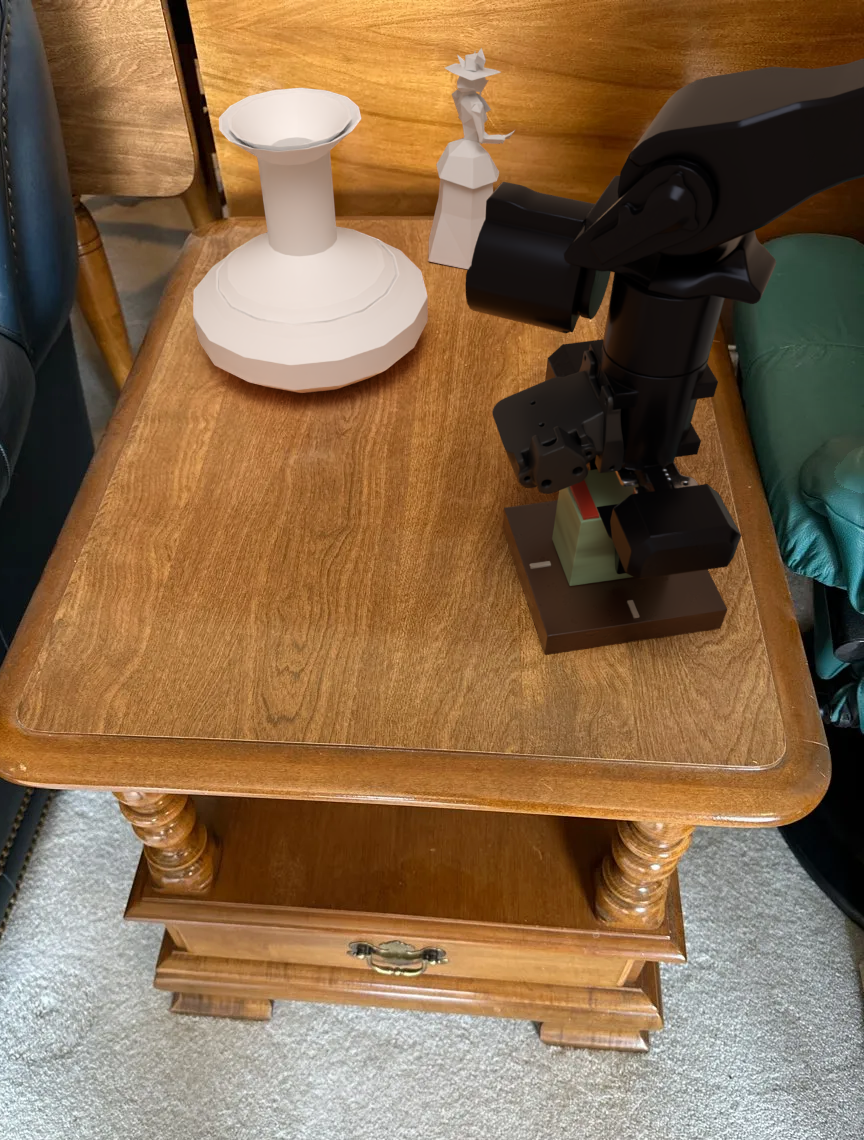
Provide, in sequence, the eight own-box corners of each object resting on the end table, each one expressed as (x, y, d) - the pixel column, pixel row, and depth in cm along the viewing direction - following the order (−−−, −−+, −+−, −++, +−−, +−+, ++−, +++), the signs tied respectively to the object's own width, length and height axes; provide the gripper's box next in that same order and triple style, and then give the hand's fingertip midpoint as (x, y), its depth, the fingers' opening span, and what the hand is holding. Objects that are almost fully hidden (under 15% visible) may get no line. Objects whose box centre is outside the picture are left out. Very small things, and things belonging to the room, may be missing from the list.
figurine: (516, 248, 93) (532, 44, 79) (453, 278, 90) (458, 72, 76) (469, 221, 97) (476, 20, 83) (407, 248, 94) (403, 46, 80)
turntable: (660, 504, 71) (666, 483, 69) (720, 628, 63) (728, 607, 62) (501, 527, 70) (503, 505, 68) (544, 655, 62) (547, 634, 61)
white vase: (418, 423, 77) (416, 187, 62) (178, 414, 79) (119, 183, 64) (435, 286, 90) (436, 61, 75) (227, 281, 92) (187, 61, 76)
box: (649, 525, 67) (667, 456, 62) (671, 572, 64) (691, 504, 59) (551, 538, 66) (561, 470, 61) (569, 586, 63) (581, 519, 58)
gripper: (474, 271, 57) (466, 468, 69) (556, 480, 46) (529, 672, 58) (654, 250, 58) (615, 449, 70) (780, 450, 46) (706, 646, 59)
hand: (612, 545), depth 64 cm, fingers closed on box, 4 cm apart
